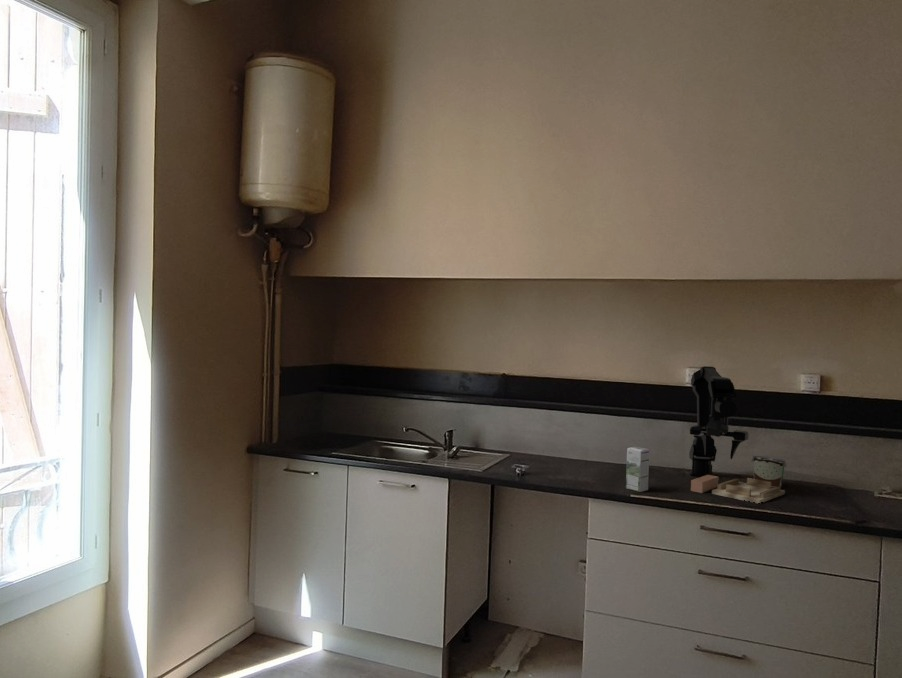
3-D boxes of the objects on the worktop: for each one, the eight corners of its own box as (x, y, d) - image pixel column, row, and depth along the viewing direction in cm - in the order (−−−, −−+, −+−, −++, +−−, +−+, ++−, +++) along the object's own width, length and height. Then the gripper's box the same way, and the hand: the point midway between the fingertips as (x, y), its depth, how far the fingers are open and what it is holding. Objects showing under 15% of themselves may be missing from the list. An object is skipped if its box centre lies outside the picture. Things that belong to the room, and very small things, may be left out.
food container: (791, 486, 241) (792, 459, 241) (784, 489, 237) (785, 461, 237) (757, 480, 250) (758, 454, 250) (750, 482, 246) (751, 455, 246)
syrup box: (648, 490, 228) (650, 448, 228) (639, 492, 224) (640, 450, 224) (634, 486, 233) (636, 446, 232) (624, 489, 229) (626, 447, 228)
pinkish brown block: (690, 491, 230) (691, 480, 230) (707, 485, 240) (707, 474, 240) (701, 493, 227) (702, 482, 227) (718, 487, 237) (718, 476, 237)
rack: (711, 493, 226) (712, 483, 226) (739, 484, 241) (739, 475, 241) (759, 503, 214) (759, 492, 214) (784, 493, 230) (785, 483, 229)
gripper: (686, 412, 232) (684, 456, 232) (742, 418, 221) (740, 464, 221) (695, 410, 241) (693, 452, 241) (749, 415, 230) (747, 459, 230)
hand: (717, 456), depth 233 cm, fingers open, 9 cm apart
